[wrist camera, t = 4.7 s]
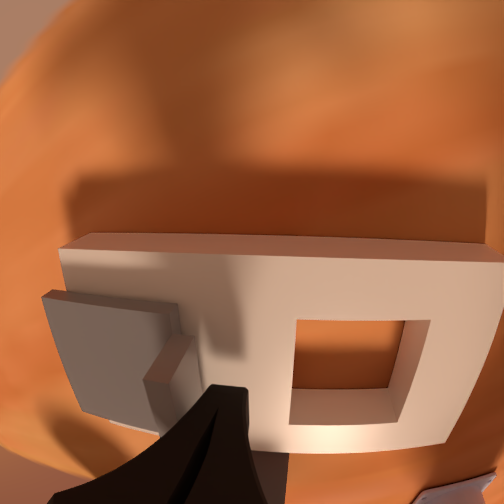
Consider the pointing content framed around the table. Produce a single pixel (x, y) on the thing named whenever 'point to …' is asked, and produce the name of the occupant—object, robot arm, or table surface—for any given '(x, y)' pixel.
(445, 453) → the table surface
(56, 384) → the table surface
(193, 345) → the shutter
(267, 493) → the plug
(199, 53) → the table surface
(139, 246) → the socket plate
